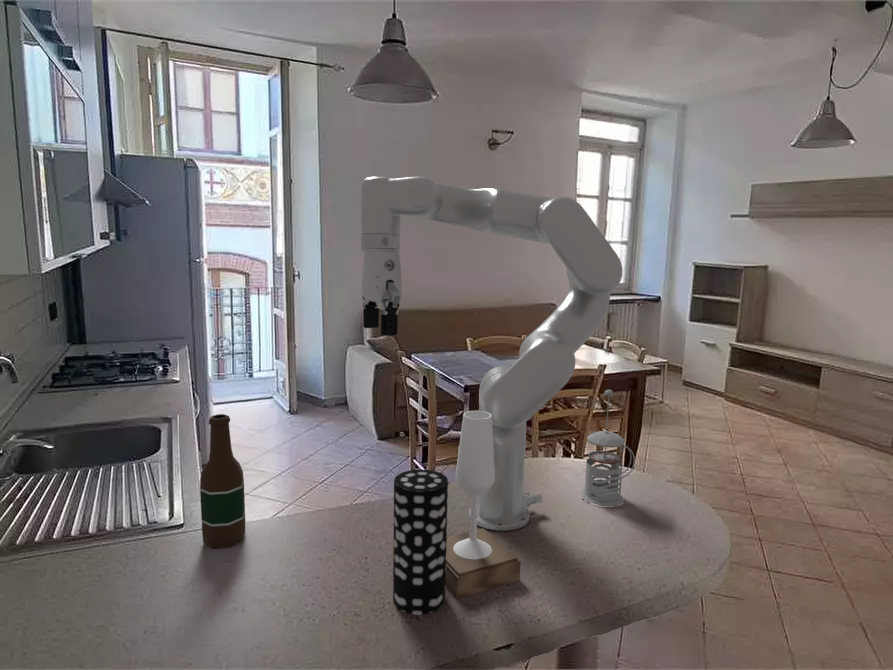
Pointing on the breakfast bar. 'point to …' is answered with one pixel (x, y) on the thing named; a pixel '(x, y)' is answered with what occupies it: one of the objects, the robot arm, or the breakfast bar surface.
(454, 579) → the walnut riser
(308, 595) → the breakfast bar surface
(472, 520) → the champagne flute
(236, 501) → the beer bottle
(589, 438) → the french press
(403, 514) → the spotted tube
